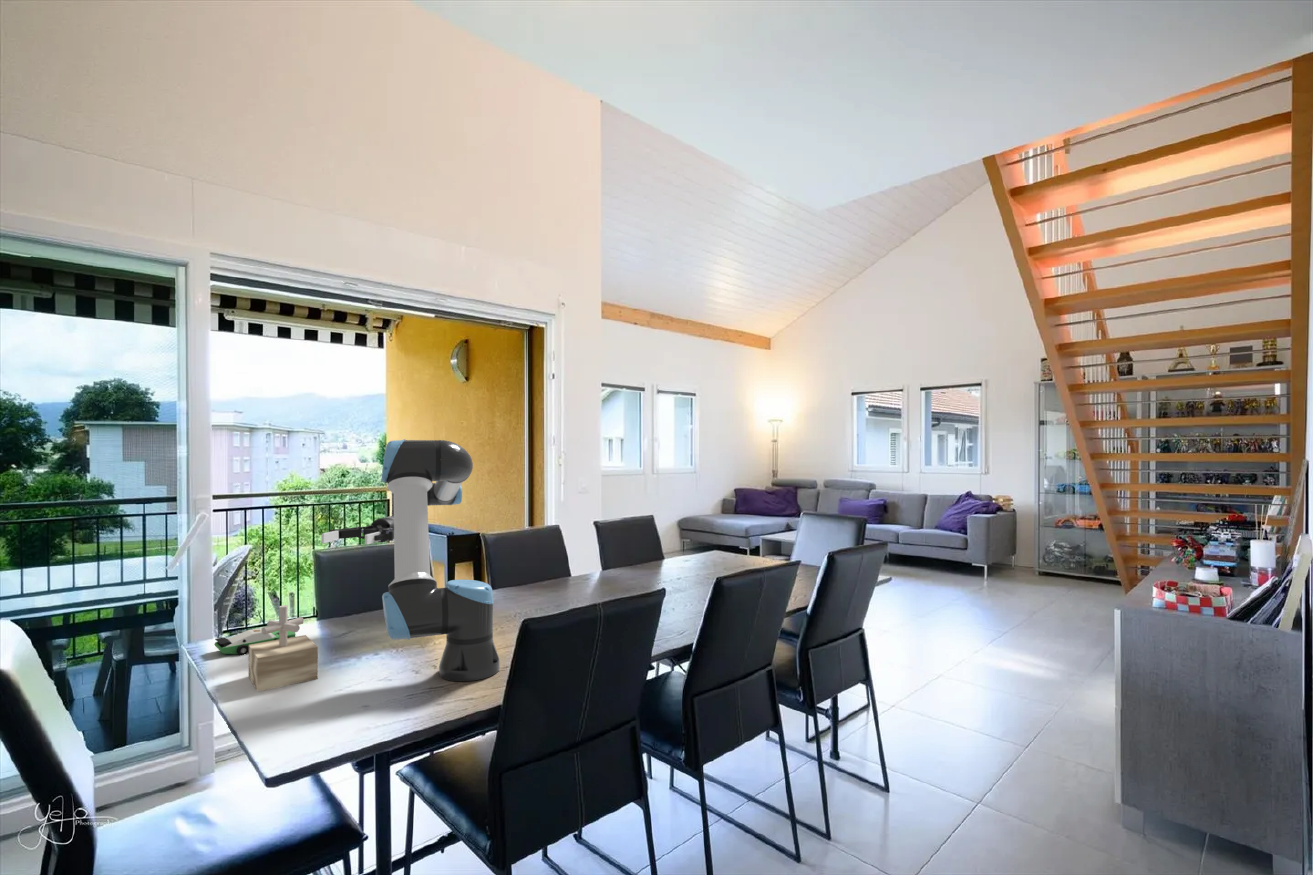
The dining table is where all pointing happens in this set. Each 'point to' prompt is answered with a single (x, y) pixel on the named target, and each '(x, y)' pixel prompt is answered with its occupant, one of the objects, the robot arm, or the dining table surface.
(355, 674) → the dining table surface
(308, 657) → the birch block
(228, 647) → the toy car
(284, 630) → the pipe connector
